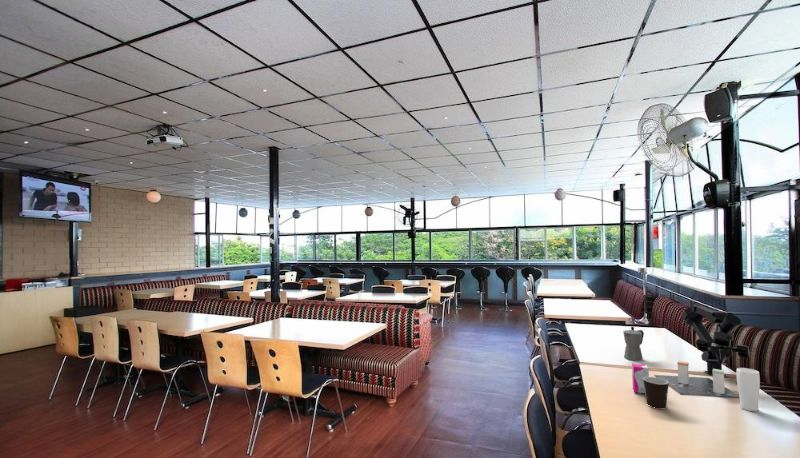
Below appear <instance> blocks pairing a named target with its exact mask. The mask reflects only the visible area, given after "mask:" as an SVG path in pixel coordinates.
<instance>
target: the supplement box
mask: <svg viewBox="0 0 800 458" xmlns="http://www.w3.org/2000/svg"><path fill="white" fill-rule="evenodd" d="M649 370H650V368H649V367H648V366H647V364H640V363H631V372H632V373H631V377H632V378H631V380H632V390H634V391H633V392H635V393H634V394H637V393H641V394H640V395H645V388H644V382H643V378H644V377H650V374H649V373H650V371H649Z"/></svg>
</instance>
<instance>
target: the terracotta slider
mask: <svg viewBox="0 0 800 458" xmlns="http://www.w3.org/2000/svg"><path fill="white" fill-rule="evenodd" d="M689 373H690V372H689V362H687V361H682V360H678V361H677V376H678V383H682V384H687V385H688V383H689V377H690V375H689Z"/></svg>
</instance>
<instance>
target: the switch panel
mask: <svg viewBox="0 0 800 458" xmlns="http://www.w3.org/2000/svg"><path fill="white" fill-rule="evenodd" d="M653 377H656V378H661V379H664V380H666V381H668V382H669V385H668V388H669V387H670V388H671V389H672V390H673V391H675V392H677V394H680V395H685V396H687V395H688V396H701V397H703V396H704V397H715V398H716V397H719V398H731V399H733V398H734V399H740V398H739V393H737V392H735V391H733V390H731V389H729V388H727V387H726V386H725V393H724V394H720V393H715V392H713V379H712V378H710V377H703V376H702V377H701V376H699V377H698V376H689V383H688V385H687V384H682V383H678V375H665V374H663V375H662V374H654V376H653Z"/></svg>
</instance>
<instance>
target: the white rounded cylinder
mask: <svg viewBox="0 0 800 458" xmlns="http://www.w3.org/2000/svg"><path fill="white" fill-rule="evenodd" d="M760 382H761V378H760V372H759V371H758V370H756V369H753V368H746V367H737V368H736V385H737V389H738V395H739V398H738V399H739V407H740V408H741V409H742V410H745V411H747V412H753V413H754V412H758V411H759V403H760V402H759V400H760V399H759V397H760V389H761V388H760V386H761V384H760Z"/></svg>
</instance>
